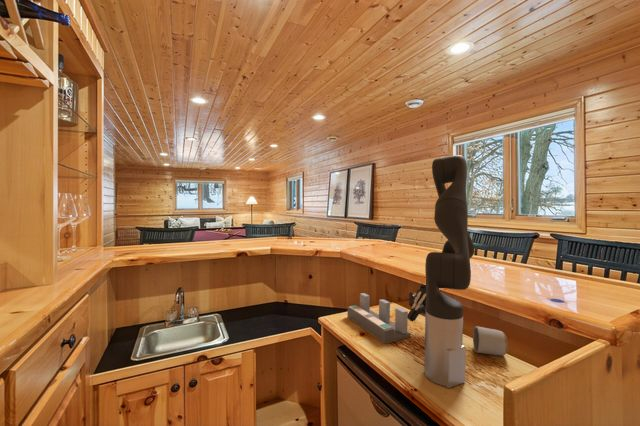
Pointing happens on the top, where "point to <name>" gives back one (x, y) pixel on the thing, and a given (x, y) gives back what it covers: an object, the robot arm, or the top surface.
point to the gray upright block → (384, 311)
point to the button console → (375, 325)
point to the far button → (365, 302)
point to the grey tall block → (401, 320)
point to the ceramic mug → (489, 341)
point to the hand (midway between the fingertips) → (409, 319)
